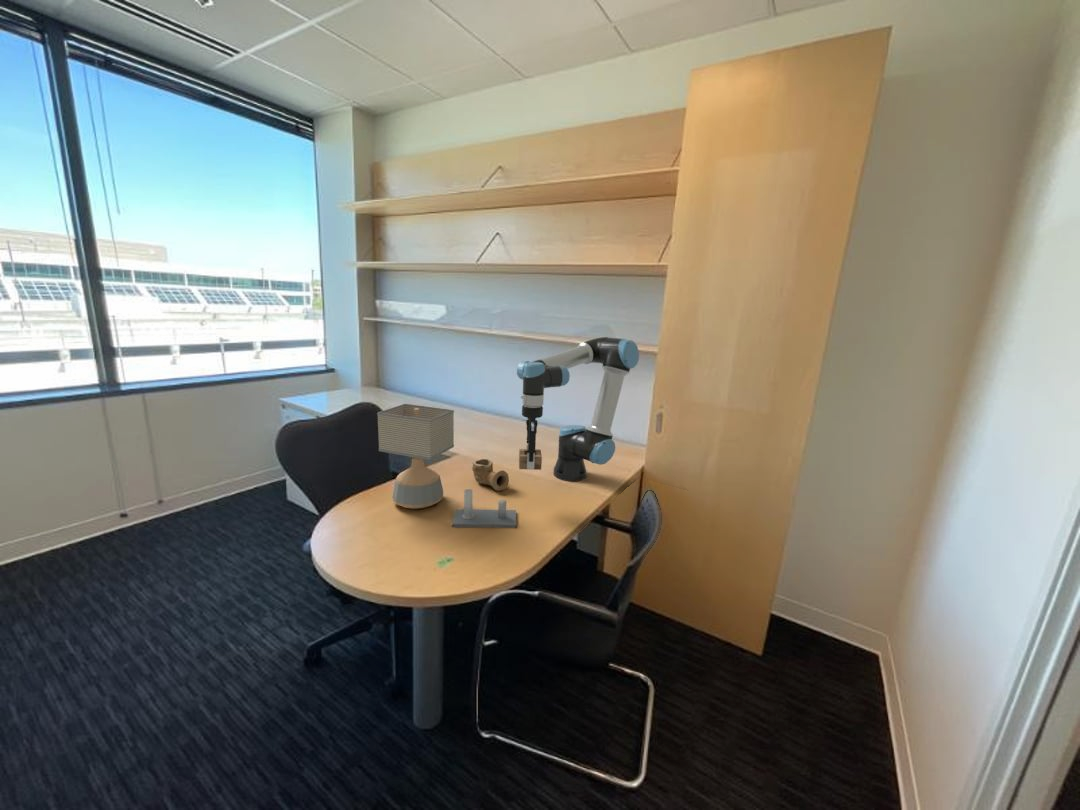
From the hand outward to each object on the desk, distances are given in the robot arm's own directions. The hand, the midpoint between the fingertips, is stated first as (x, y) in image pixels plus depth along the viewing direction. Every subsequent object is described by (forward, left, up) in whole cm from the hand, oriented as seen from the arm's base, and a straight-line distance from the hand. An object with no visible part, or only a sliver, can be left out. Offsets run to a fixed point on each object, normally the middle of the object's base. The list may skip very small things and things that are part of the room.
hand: (529, 464), depth 160 cm
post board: (+16, +9, -17) cm, 25 cm away
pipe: (+16, -20, -18) cm, 31 cm away
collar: (0, 0, 0) cm, 0 cm away
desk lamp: (+42, -4, -18) cm, 46 cm away
